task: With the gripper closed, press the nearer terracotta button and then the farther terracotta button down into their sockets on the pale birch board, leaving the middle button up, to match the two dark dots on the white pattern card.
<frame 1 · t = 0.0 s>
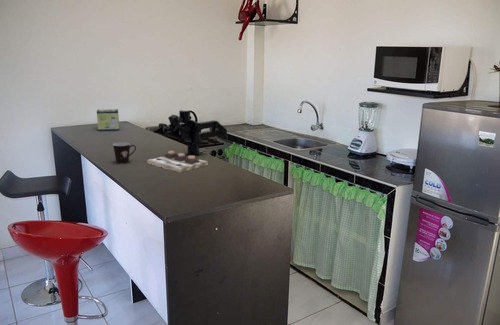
hand: (159, 132, 206), 17 cm above the countertop, tool horizontal, fingers open, 9 cm apart
button b: (191, 157, 203), point 4 cm above the countertop, slide at 0.0 cm
middle button: (181, 155, 208), point 4 cm above the countertop, slide at 0.0 cm
protein box: (108, 130, 299), on the countertop
button board: (177, 164, 207), on the countertop
button a: (171, 153, 213), point 4 cm above the countertop, slide at 0.0 cm
coffee mug: (125, 162, 208), on the countertop
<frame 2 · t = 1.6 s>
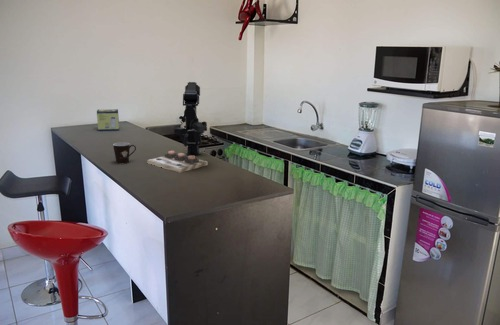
hand: (191, 145, 202), 11 cm above the countertop, tool pointing down, fingers open, 8 cm apart
nothing on the countertop moved.
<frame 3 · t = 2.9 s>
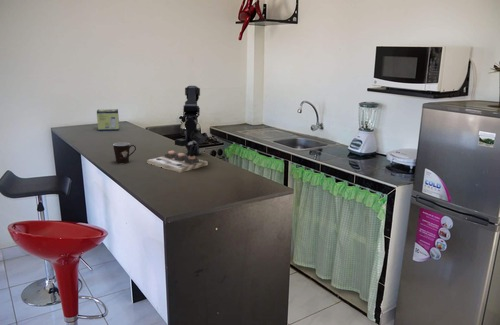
hand: (191, 156, 203), 5 cm above the countertop, tool pointing down, fingers closed, pressing on button b
button b: (191, 158, 203), point 4 cm above the countertop, slide at 0.0 cm, touching gripper
everything else where it was.
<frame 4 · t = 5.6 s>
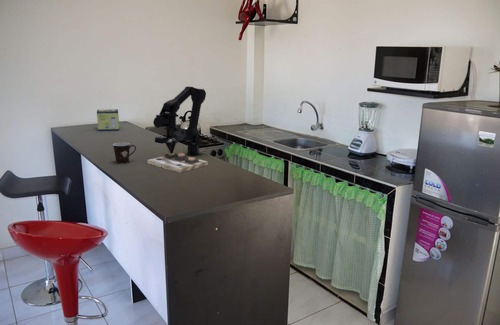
hand: (171, 153, 213), 4 cm above the countertop, tool pointing down, fingers closed, pressing on button a
button b: (191, 159, 204), point 3 cm above the countertop, slide at 1.0 cm
button a: (171, 154, 213), point 3 cm above the countertop, slide at 1.0 cm, touching gripper
everything else where it was.
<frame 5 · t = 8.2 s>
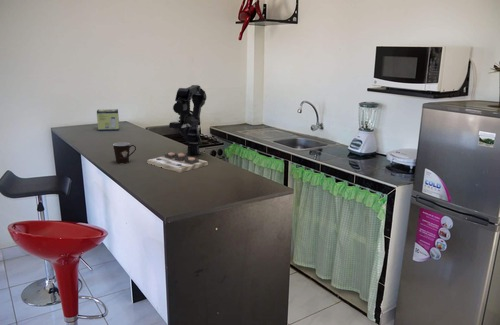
hand: (185, 139, 214), 12 cm above the countertop, tool pointing down, fingers closed
button a: (171, 154, 213), point 3 cm above the countertop, slide at 1.1 cm
everything else where it was.
at the end: button b slide at 1.0 cm; button a slide at 1.1 cm; middle button slide at 0.0 cm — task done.
